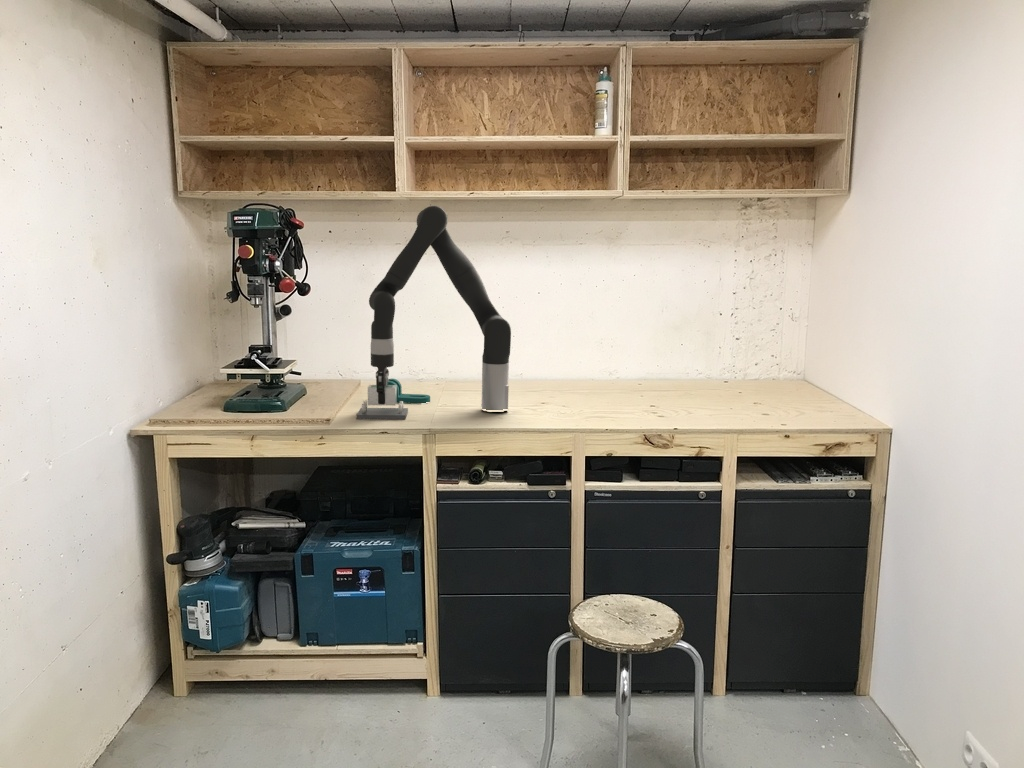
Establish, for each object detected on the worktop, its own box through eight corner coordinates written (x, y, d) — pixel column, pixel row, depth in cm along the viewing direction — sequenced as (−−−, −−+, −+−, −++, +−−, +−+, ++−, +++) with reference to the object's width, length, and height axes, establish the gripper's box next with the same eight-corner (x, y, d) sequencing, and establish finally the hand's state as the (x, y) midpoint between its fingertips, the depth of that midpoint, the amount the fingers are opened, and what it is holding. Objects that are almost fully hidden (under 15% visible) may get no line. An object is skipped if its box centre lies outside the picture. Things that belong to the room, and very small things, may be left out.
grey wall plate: (408, 412, 236) (407, 399, 235) (405, 419, 226) (405, 406, 225) (360, 411, 234) (360, 399, 234) (356, 419, 225) (356, 405, 224)
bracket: (379, 402, 249) (379, 381, 248) (383, 398, 256) (383, 378, 254) (428, 404, 249) (428, 383, 247) (431, 400, 255) (431, 379, 254)
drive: (396, 402, 232) (396, 384, 231) (395, 405, 227) (395, 387, 226) (369, 402, 231) (369, 384, 230) (367, 405, 227) (367, 387, 226)
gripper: (391, 355, 219) (391, 407, 223) (395, 348, 233) (395, 397, 237) (367, 355, 219) (368, 407, 222) (373, 348, 233) (373, 397, 236)
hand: (382, 402), depth 229 cm, fingers closed on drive, 4 cm apart
